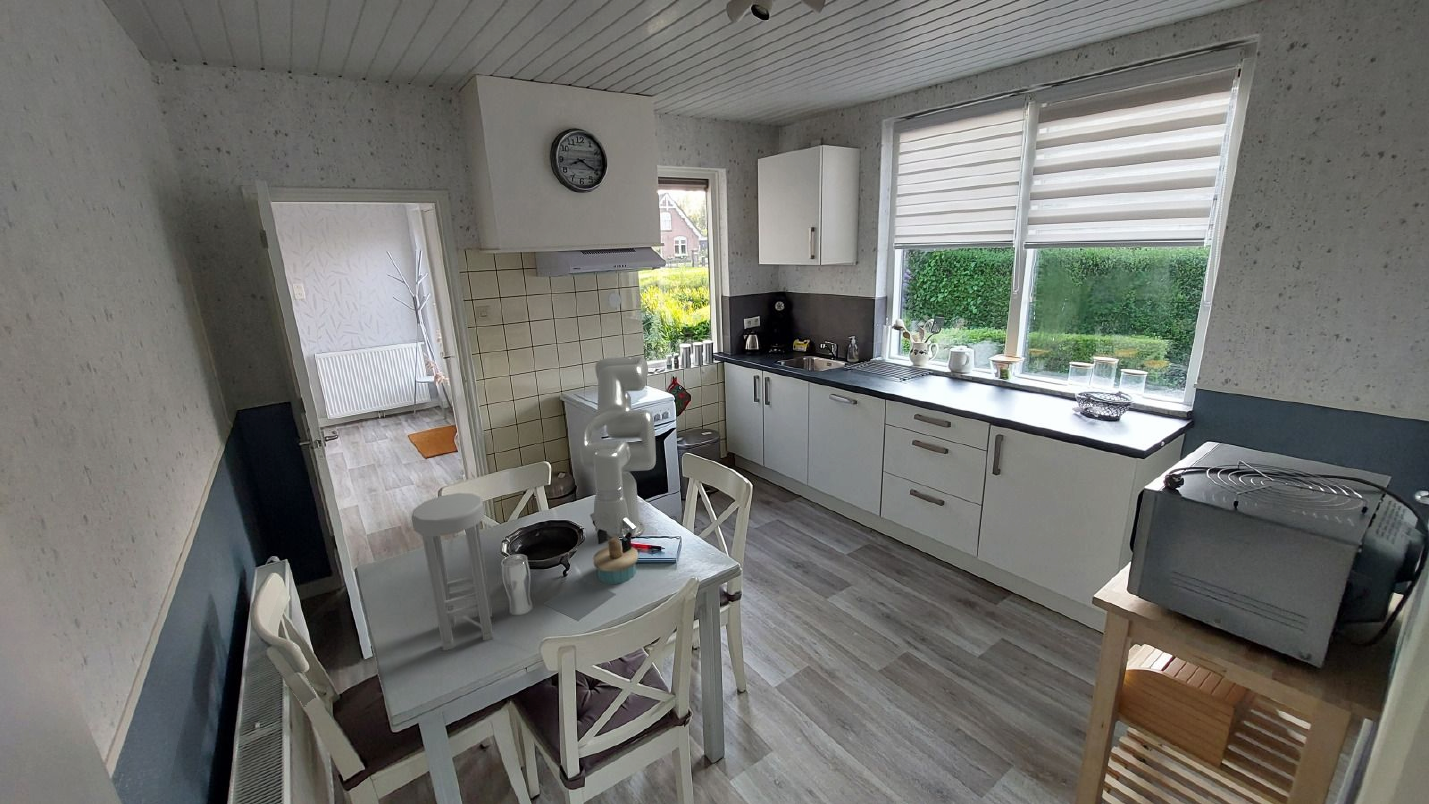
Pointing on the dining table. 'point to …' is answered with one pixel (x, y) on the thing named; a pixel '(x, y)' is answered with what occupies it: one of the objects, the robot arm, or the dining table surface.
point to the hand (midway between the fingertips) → (614, 546)
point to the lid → (614, 557)
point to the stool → (431, 524)
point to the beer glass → (517, 583)
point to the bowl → (617, 575)
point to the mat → (579, 599)
